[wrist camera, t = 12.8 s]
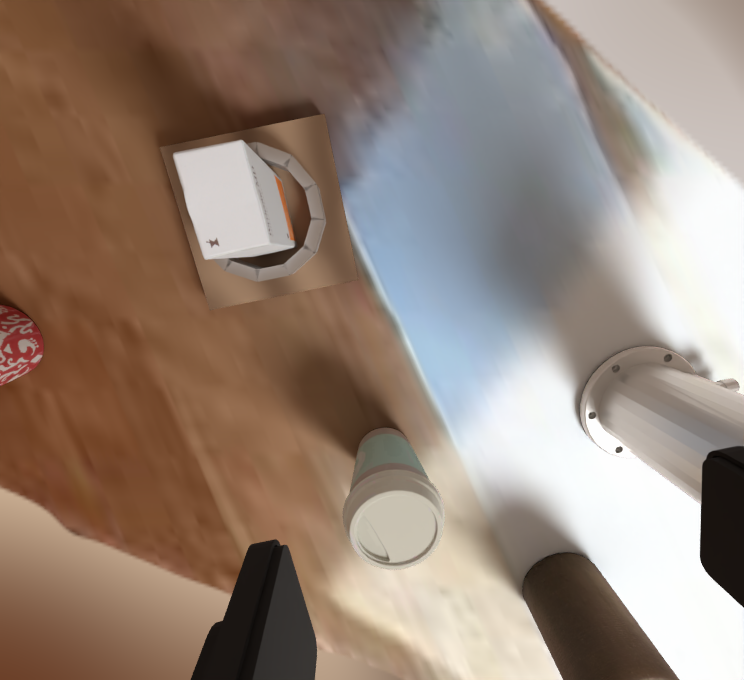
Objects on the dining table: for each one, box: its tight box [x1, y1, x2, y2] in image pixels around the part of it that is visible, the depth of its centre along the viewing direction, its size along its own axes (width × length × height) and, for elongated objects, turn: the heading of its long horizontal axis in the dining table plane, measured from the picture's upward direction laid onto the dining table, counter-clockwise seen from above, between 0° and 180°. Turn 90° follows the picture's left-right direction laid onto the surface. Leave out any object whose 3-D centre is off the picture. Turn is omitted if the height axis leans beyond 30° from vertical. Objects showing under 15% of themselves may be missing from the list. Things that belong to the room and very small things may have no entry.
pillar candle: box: [523, 553, 679, 680], centre depth 40 cm, size 10×10×15 cm
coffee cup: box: [343, 428, 445, 570], centre depth 36 cm, size 9×8×12 cm
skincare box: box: [173, 140, 298, 260], centre depth 27 cm, size 6×4×12 cm
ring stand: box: [160, 114, 358, 310], centre depth 33 cm, size 14×14×4 cm
